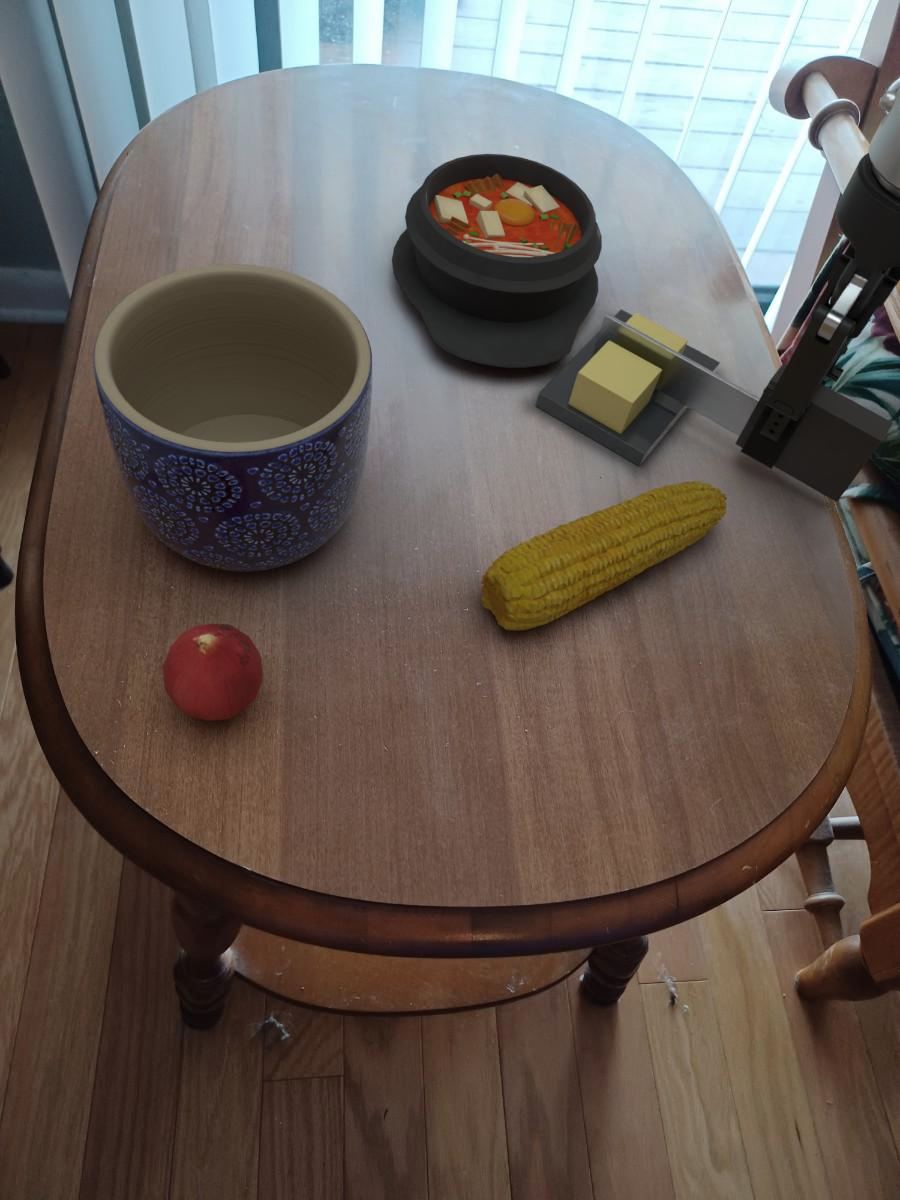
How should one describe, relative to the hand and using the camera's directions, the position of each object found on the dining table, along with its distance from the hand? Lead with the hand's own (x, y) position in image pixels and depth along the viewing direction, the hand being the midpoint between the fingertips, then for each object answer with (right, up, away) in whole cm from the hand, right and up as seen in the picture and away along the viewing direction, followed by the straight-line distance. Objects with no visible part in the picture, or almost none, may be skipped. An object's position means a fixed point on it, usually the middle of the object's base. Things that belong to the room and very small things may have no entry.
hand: (765, 445), depth 76 cm
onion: (-40, -19, -15) cm, 46 cm away
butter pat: (-9, +7, +5) cm, 13 cm away
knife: (-4, +2, +1) cm, 5 cm away
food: (-14, -10, -5) cm, 18 cm away
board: (-10, +6, +5) cm, 13 cm away
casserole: (-21, +16, +11) cm, 29 cm away
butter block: (-12, +4, +2) cm, 13 cm away
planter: (-40, -6, -6) cm, 41 cm away
